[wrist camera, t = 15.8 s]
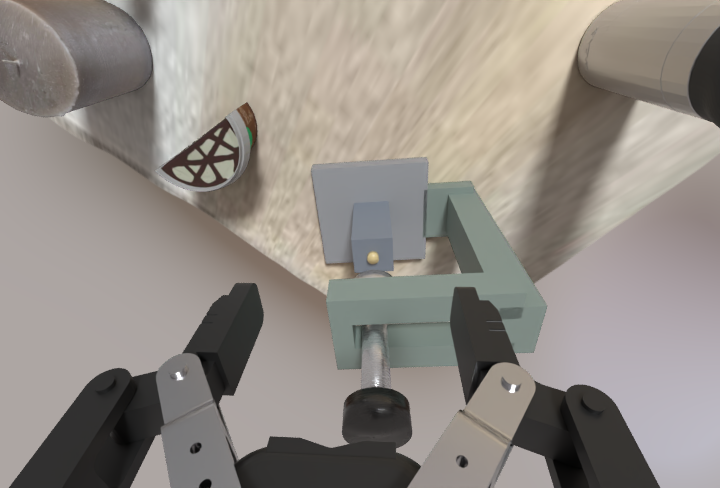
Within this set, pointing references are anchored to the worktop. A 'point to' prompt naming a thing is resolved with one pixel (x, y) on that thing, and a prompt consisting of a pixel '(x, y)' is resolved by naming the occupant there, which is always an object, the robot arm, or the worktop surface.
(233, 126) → the food container
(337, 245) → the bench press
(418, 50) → the worktop surface
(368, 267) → the block
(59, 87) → the pillar candle
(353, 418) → the press ram
